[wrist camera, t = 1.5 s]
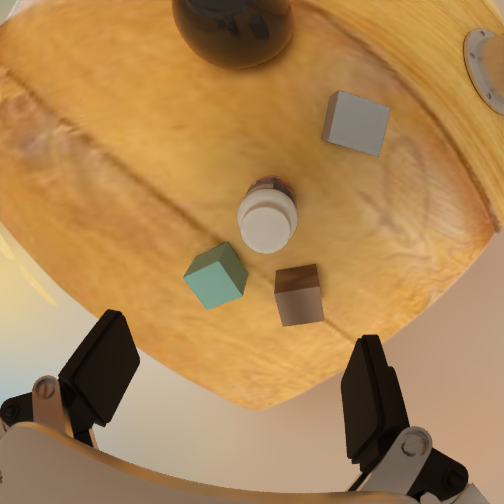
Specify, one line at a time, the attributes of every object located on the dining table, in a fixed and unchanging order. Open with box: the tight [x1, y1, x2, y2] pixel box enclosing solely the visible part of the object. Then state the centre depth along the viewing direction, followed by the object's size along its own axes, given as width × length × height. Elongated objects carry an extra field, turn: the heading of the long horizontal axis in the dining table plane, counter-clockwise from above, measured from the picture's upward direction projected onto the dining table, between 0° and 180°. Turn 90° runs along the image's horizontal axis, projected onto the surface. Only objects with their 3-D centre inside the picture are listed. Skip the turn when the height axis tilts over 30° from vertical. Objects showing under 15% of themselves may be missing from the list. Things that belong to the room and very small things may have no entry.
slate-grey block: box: [321, 90, 390, 157], centre depth 23 cm, size 5×5×5 cm
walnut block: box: [274, 264, 324, 327], centre depth 32 cm, size 5×5×5 cm
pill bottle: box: [237, 176, 298, 254], centre depth 25 cm, size 5×5×10 cm
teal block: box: [183, 242, 248, 310], centre depth 32 cm, size 5×5×5 cm
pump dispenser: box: [171, 0, 293, 68], centre depth 15 cm, size 10×10×15 cm
